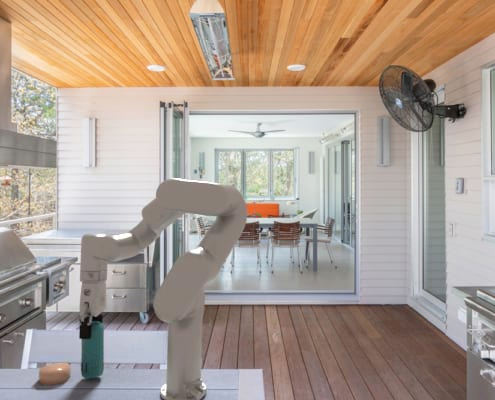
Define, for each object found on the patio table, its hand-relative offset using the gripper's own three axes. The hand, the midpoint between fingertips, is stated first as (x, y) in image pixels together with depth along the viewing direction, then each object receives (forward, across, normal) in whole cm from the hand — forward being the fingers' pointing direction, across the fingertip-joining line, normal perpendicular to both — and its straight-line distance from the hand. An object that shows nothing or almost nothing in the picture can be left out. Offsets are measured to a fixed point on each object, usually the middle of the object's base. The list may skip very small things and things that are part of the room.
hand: (91, 332), depth 119 cm
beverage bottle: (+14, 0, -1) cm, 14 cm away
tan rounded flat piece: (+14, 0, +10) cm, 17 cm away
